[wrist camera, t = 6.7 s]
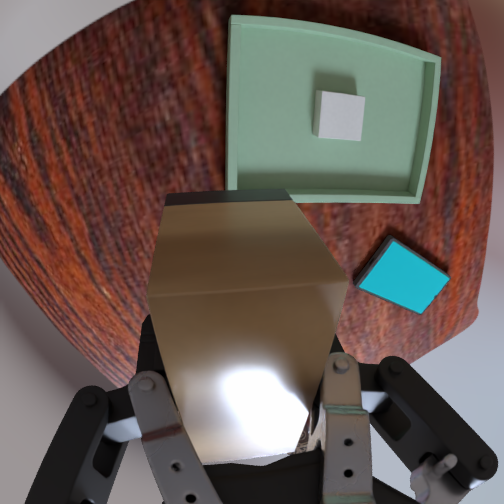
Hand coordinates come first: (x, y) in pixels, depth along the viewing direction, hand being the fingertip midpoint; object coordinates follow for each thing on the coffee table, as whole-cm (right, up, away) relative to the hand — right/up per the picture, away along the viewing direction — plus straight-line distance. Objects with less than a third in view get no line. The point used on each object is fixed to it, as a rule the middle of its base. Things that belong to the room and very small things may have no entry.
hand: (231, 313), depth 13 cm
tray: (+8, +15, +12) cm, 21 cm away
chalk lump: (+8, +14, +11) cm, 20 cm away
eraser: (0, +1, +1) cm, 1 cm away
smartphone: (+21, -1, +24) cm, 31 cm away
